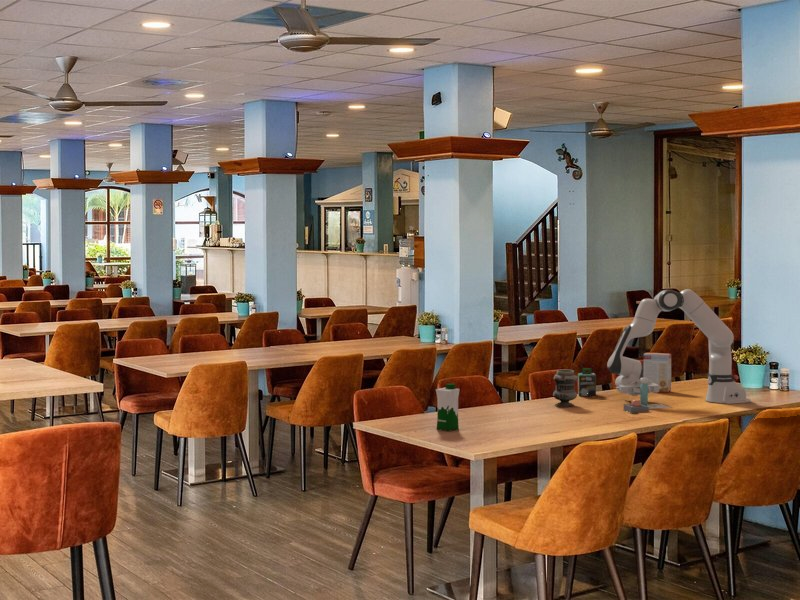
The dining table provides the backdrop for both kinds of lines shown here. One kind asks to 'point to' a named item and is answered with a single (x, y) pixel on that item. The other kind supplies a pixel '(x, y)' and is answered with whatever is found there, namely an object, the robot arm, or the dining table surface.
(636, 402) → the button
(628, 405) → the button housing
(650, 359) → the cracker box
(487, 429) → the dining table surface
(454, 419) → the milk carton
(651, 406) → the picture board
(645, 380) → the marker
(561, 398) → the apothecary jar
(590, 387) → the chalk box
